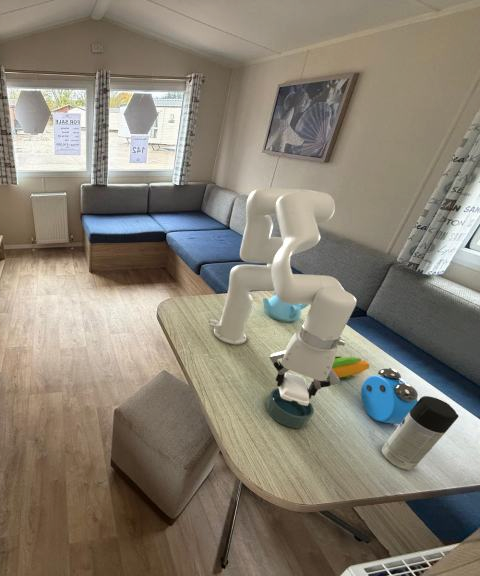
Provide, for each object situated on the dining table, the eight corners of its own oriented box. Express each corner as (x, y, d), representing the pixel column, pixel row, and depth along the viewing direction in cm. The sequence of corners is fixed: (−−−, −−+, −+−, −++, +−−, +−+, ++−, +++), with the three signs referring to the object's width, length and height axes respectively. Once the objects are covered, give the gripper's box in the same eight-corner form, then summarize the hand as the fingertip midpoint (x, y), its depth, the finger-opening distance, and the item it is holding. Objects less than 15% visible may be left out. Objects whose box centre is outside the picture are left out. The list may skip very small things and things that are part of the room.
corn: (316, 353, 107) (363, 347, 110) (307, 369, 111) (353, 362, 114) (334, 369, 100) (383, 362, 104) (324, 385, 105) (372, 378, 108)
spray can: (406, 451, 83) (447, 399, 74) (420, 475, 78) (467, 421, 68) (376, 443, 85) (413, 391, 76) (388, 466, 79) (429, 413, 70)
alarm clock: (403, 435, 88) (431, 397, 81) (379, 431, 88) (405, 394, 81) (374, 399, 99) (397, 364, 92) (353, 396, 100) (374, 361, 93)
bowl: (263, 417, 92) (267, 405, 90) (268, 393, 100) (273, 382, 98) (306, 436, 86) (312, 424, 84) (308, 410, 95) (314, 398, 92)
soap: (277, 375, 88) (280, 368, 87) (304, 383, 86) (308, 375, 85) (279, 398, 81) (283, 390, 80) (309, 407, 79) (313, 399, 77)
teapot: (299, 330, 132) (308, 307, 127) (257, 315, 142) (264, 293, 137) (306, 315, 143) (315, 294, 138) (266, 302, 153) (273, 282, 148)
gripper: (361, 342, 73) (331, 395, 82) (280, 317, 82) (261, 368, 90) (363, 359, 68) (331, 414, 76) (276, 331, 76) (256, 383, 85)
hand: (293, 388), depth 83 cm, fingers closed on soap, 6 cm apart
